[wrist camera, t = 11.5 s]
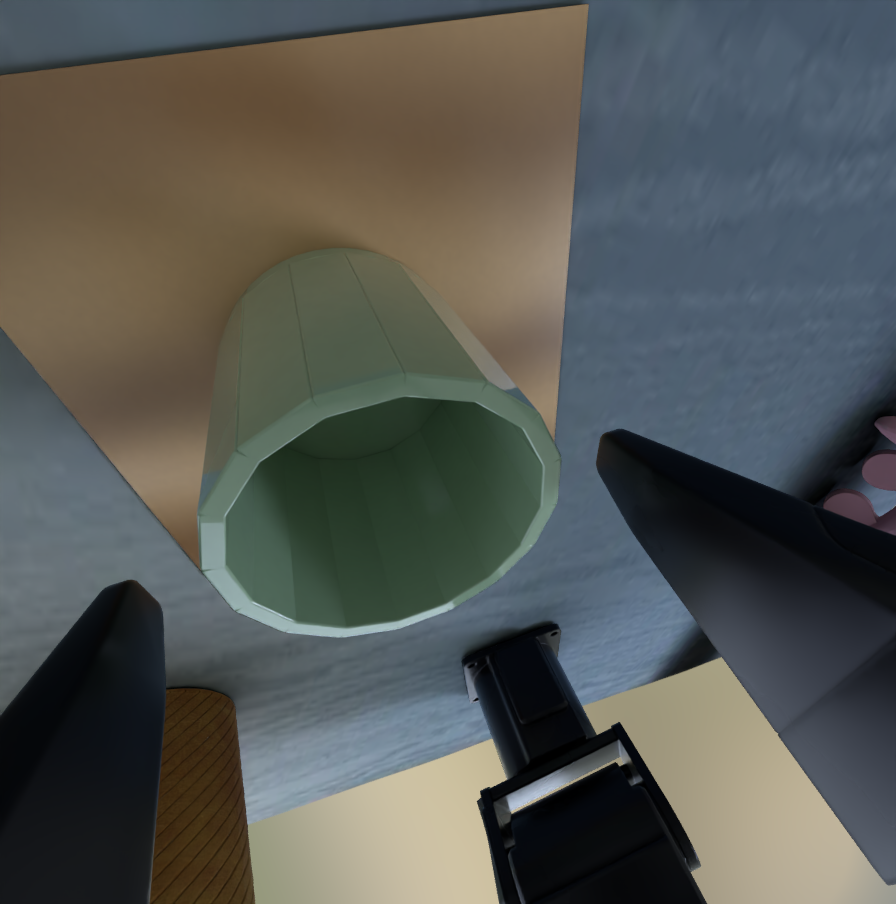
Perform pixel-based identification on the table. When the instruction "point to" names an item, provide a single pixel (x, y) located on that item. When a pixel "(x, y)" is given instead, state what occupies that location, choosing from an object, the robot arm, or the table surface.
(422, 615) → the glazed cup
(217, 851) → the disposable coffee cup
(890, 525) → the video game controller
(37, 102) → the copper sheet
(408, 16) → the table surface
